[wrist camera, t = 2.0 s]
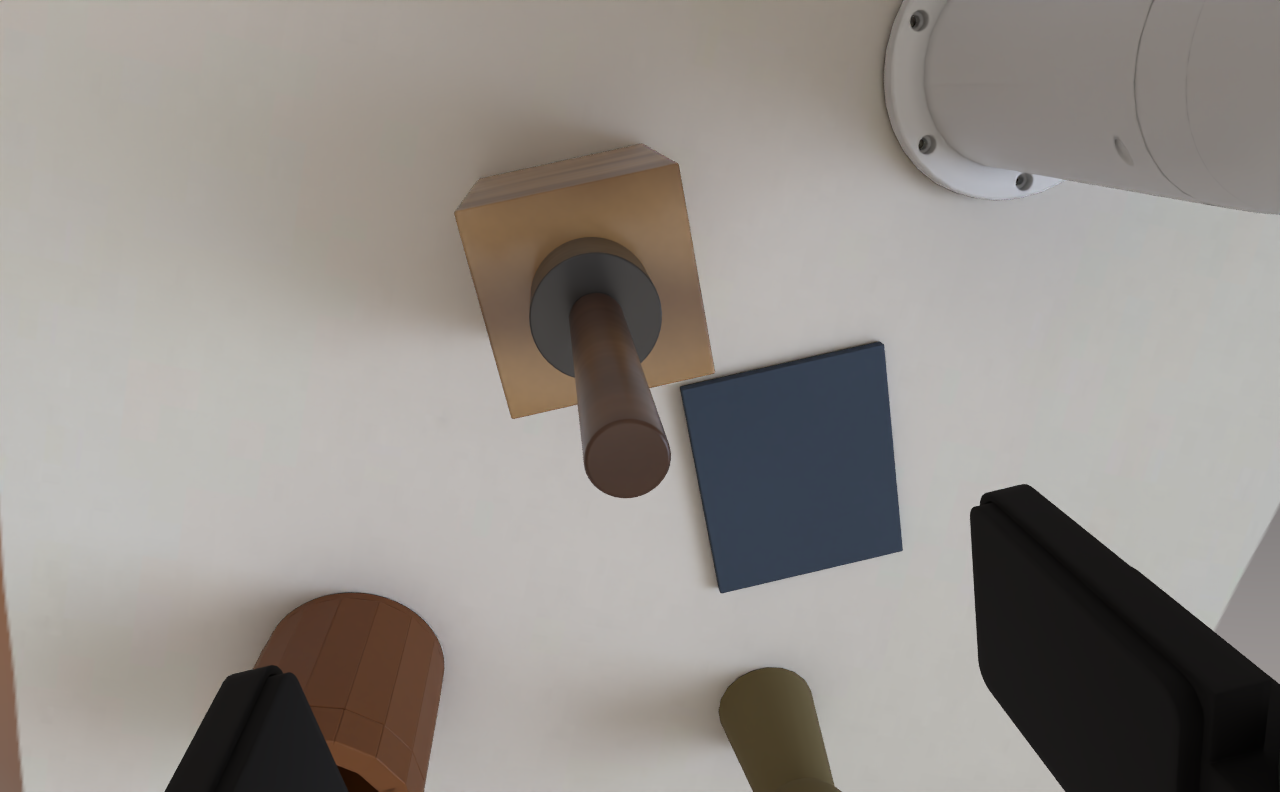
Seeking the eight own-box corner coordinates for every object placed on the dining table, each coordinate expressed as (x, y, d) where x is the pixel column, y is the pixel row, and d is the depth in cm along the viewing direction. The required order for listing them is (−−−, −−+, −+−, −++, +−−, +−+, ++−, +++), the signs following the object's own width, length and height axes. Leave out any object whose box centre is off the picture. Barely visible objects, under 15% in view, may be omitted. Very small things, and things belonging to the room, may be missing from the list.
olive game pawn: (706, 736, 52) (745, 896, 42) (736, 660, 50) (785, 808, 40) (793, 750, 53) (852, 908, 43) (825, 675, 51) (896, 823, 41)
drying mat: (679, 386, 43) (681, 390, 43) (880, 340, 43) (884, 344, 43) (718, 588, 48) (720, 594, 47) (898, 545, 48) (903, 551, 48)
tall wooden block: (477, 178, 38) (453, 211, 28) (643, 143, 39) (678, 162, 28) (520, 338, 41) (511, 420, 31) (673, 303, 41) (715, 374, 31)
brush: (517, 251, 29) (494, 385, 16) (638, 224, 29) (715, 336, 16) (546, 366, 30) (547, 574, 17) (661, 340, 31) (748, 527, 18)
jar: (237, 615, 45) (147, 770, 35) (415, 574, 45) (377, 715, 35) (300, 750, 49) (235, 926, 38) (464, 712, 49) (443, 876, 39)
